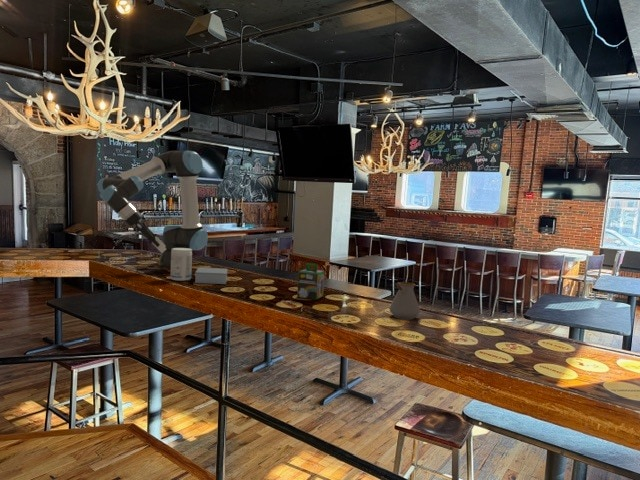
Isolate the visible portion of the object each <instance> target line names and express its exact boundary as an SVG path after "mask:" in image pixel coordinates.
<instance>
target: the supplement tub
mask: <svg viewBox="0 0 640 480" xmlns="http://www.w3.org/2000/svg"><path fill="white" fill-rule="evenodd" d="M192 260H193V250H192V249H189V248H173V249H172V251H171V267H170V280H172V281H178V282H182V281H184V282H185V281H190V280H191V279H192V266H193V265H192V263H193V261H192Z"/></svg>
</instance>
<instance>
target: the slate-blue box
mask: <svg viewBox="0 0 640 480" xmlns="http://www.w3.org/2000/svg"><path fill="white" fill-rule="evenodd" d="M194 278H195V280H194V283H195V284H215V285H218V284H219V285H226V284H227V280H228V268H216V267H215V268H214V267H198V268H197V269H196V271H195V277H194Z"/></svg>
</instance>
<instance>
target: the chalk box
mask: <svg viewBox="0 0 640 480" xmlns="http://www.w3.org/2000/svg"><path fill="white" fill-rule="evenodd" d="M305 265H306V269H302V270H299V271H298V273H297V274H298V277H297V294H296V295H297V298H302V299H309V300H315V301H317V300H318V299H320V298H322V297H324V288H325V287H324V286H325V283H324V282H325V270H320V269H318V268H317V267H318V266H317V263H310V262H307V263H306V264H305ZM310 267H313V268H310Z"/></svg>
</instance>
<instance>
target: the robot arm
mask: <svg viewBox="0 0 640 480" xmlns="http://www.w3.org/2000/svg"><path fill="white" fill-rule="evenodd" d="M202 170H203V159H202V157H201V155H199V153H197V152H196V151H193V150H169V151H166V152H164V153H160V154H158V155H157V156H154V157H152V158H151V159H150V161H147V162H145V163H143V164H140V165H137V166H135V167H133V168H130V169H127V170H126V171H123V172H121V173H119V174H116V175H113V176H112V177H104V178H101V179H99V181H98V182H97V189H98V191H99V192H100V193H99V196H100V198H101V199H102V201H104V203H105V204H107V206H108V207H110V208H111V209H112V211H114V212H115V214H117V217H118V218H121V219H122V221H124V222H125V223H126V225H127V226H128V227H129V228H131V227H133V226H134V225H135V227H136V229H137V230H138V231H139V232H140V233H141V234H142V235H143V236H145V238H146V239H147V240H148V243H149V244H152V245H153V246H154V247H155V248H156V249H157V250H158V251H159V252H160V253H161V254H160V256H159V260H158V266H159V267H164V268H166V267H167V268H171V251H172V249H173V248H189V249H192V251H201V250H202V249H203V248H205V246H206V245H207V243H208V239H209V235H208V232H207V231H206V230H205V229H203V228H204V227H203V224H202V223H200V215H199V214H200V213H199V201H198V200H199V199H198V187H197V186H198V185H197V179H198V177H200V175H199V174H200V173H201V171H202ZM166 173H175V175H176V178H177V179H178V180H179V187H180V188H179V190H180V200H181V201H180V202H181V212H182V213H181V214H182V224H177V225H176V224H175V225H173V224H172V225H165V226H164V227H163V232H162V240H161V239H160V238H159V237H158V234H157V233H154V232H153V230H151V229H150V228H149V226H148V225H146V223H145V222H143V221H142V220H141V219H142V218H143V217H144V216H143V214H142V213H141V212H140V211H139V210H137V208H136V207H135V206H134V204H132V203H131V201H129V200H130V199H131V198H133V197H134V196H135V195H137V194H138V193H140V192H141V191H142V190H143V188H144V182H143V181H146V180H147V179H151V178H152V177H154V176H156V175H157V176H158V175H163V174H166Z"/></svg>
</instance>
